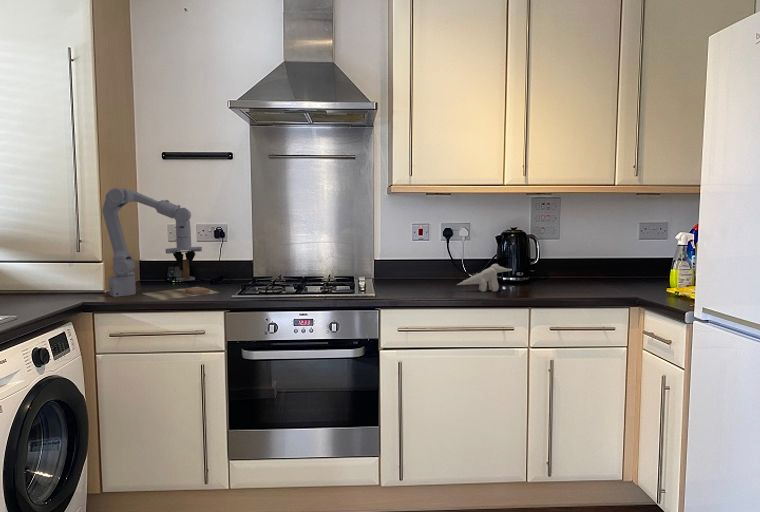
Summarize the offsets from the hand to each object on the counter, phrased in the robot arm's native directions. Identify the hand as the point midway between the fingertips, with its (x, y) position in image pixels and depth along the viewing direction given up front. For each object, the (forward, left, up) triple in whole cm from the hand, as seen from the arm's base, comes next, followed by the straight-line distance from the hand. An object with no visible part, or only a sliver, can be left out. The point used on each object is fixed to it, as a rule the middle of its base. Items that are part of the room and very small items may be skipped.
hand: (185, 269), depth 219 cm
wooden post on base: (0, 0, -4) cm, 4 cm away
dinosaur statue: (+90, -85, -11) cm, 125 cm away
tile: (+2, -2, -9) cm, 9 cm away
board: (-3, -1, -10) cm, 11 cm away
